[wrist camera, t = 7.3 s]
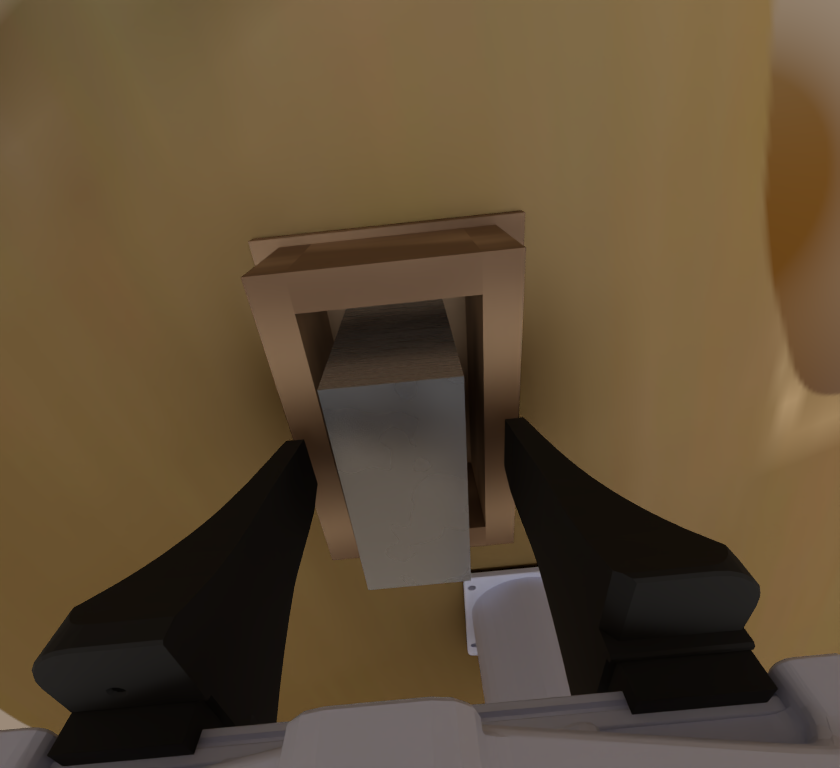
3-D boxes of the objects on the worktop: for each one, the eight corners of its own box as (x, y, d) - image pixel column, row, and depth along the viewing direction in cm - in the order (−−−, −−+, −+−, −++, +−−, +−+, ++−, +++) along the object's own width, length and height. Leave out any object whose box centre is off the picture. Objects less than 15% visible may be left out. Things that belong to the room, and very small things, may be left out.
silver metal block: (449, 447, 19) (470, 580, 13) (378, 454, 20) (368, 590, 13) (439, 288, 15) (464, 375, 9) (350, 297, 15) (317, 390, 9)
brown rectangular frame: (512, 472, 21) (537, 544, 17) (326, 491, 21) (310, 566, 17) (521, 210, 15) (565, 231, 11) (252, 239, 15) (199, 270, 11)
